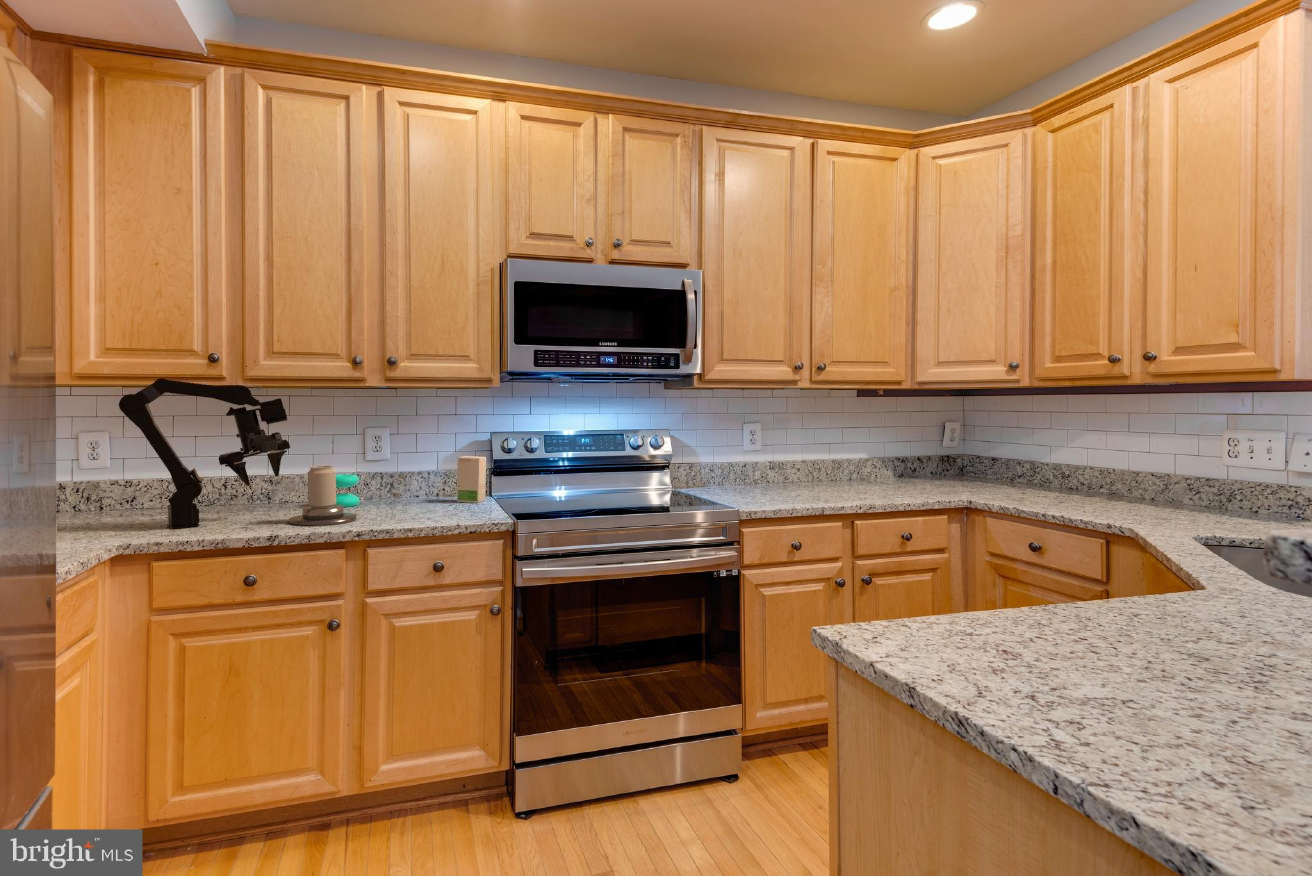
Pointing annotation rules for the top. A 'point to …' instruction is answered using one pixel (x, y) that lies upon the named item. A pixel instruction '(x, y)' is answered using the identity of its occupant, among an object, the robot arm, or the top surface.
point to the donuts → (346, 481)
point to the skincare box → (471, 479)
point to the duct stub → (322, 516)
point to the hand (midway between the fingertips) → (262, 480)
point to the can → (321, 487)
